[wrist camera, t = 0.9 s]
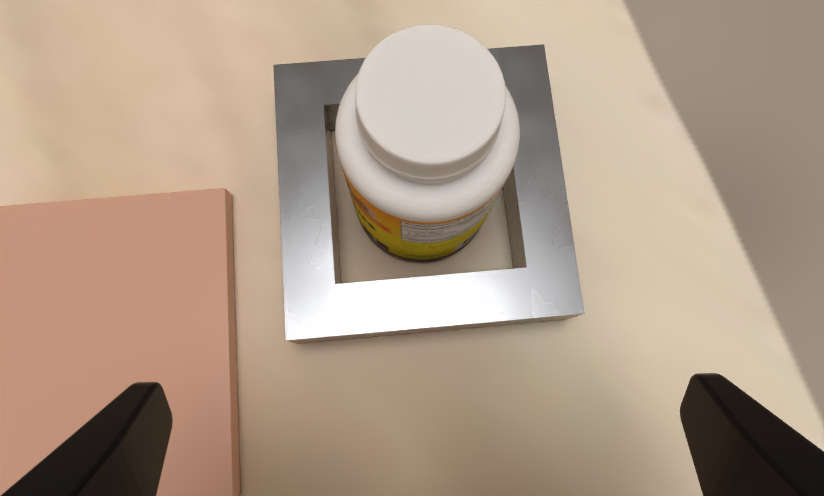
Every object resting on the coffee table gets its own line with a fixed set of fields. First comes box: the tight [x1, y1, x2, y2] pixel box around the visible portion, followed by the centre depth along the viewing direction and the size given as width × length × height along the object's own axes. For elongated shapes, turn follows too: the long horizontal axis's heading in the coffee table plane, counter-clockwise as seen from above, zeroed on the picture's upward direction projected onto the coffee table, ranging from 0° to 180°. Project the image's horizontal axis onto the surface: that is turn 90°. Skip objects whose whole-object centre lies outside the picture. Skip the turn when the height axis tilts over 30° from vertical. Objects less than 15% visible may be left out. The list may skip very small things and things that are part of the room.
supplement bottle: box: [335, 24, 520, 262], centre depth 20 cm, size 6×6×10 cm
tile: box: [0, 188, 240, 496], centre depth 23 cm, size 12×12×1 cm
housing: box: [274, 45, 584, 343], centre depth 24 cm, size 11×11×2 cm
